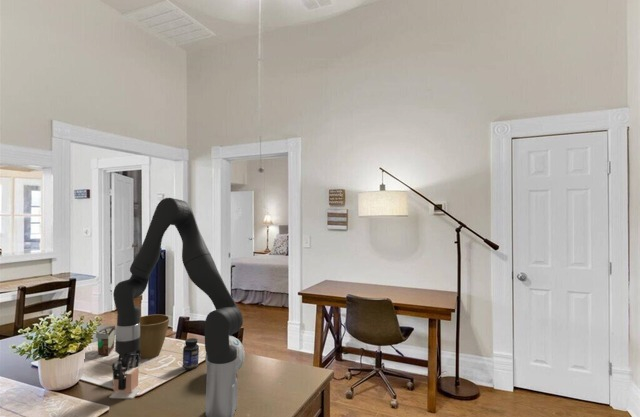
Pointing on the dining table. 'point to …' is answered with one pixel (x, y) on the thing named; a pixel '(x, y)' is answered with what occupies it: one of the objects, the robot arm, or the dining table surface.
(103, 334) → the food container
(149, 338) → the plant pot
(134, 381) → the pink block
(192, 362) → the pill bottle
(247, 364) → the dining table surface
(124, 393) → the mat
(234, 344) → the puzzle ball
